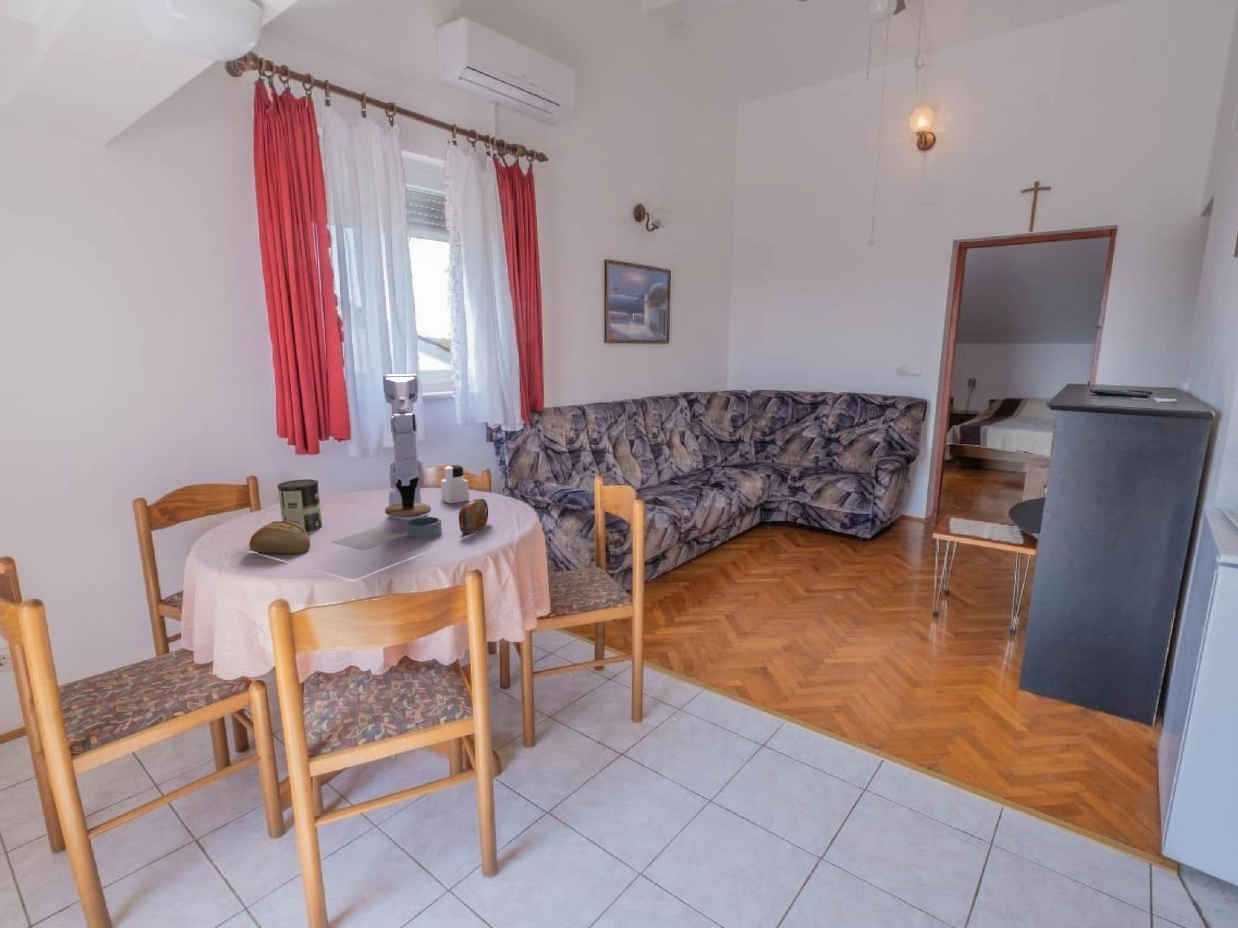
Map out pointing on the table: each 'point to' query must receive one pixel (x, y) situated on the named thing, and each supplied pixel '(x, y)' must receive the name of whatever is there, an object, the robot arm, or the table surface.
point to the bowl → (424, 527)
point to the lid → (407, 510)
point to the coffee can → (301, 503)
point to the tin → (473, 516)
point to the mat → (367, 539)
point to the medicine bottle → (454, 485)
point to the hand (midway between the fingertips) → (409, 505)
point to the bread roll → (280, 538)
